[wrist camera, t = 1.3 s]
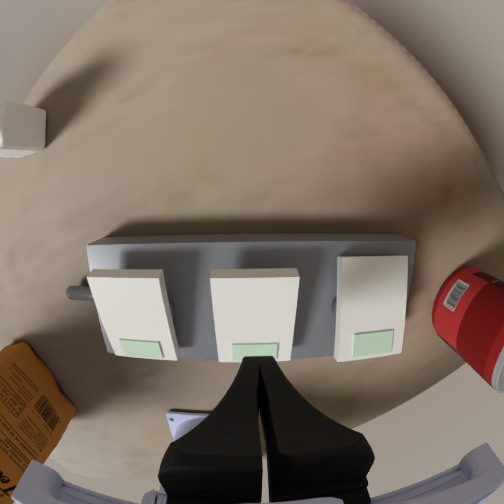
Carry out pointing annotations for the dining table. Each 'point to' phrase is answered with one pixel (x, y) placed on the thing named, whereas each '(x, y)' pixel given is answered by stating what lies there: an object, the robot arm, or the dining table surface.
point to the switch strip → (243, 257)
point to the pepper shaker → (21, 129)
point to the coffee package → (27, 415)
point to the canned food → (473, 321)
